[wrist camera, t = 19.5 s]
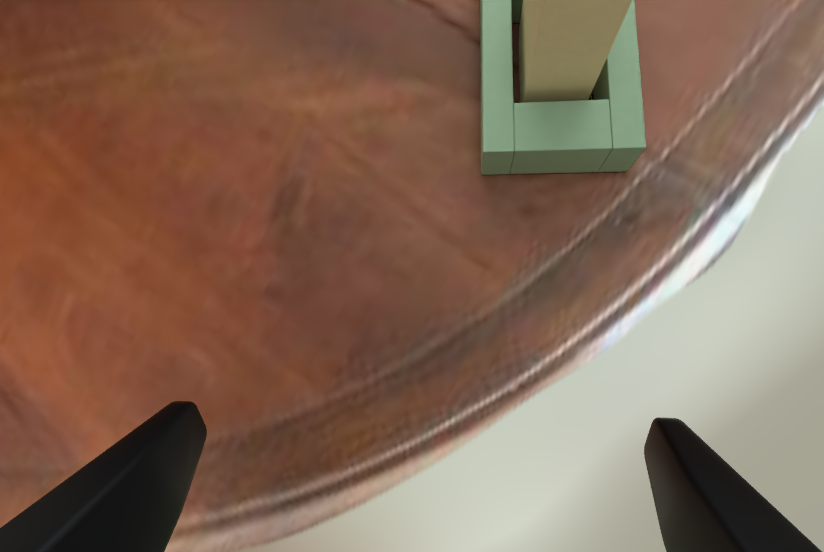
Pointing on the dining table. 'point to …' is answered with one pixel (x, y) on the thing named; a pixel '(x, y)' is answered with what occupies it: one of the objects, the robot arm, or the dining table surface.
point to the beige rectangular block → (565, 46)
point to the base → (558, 108)
